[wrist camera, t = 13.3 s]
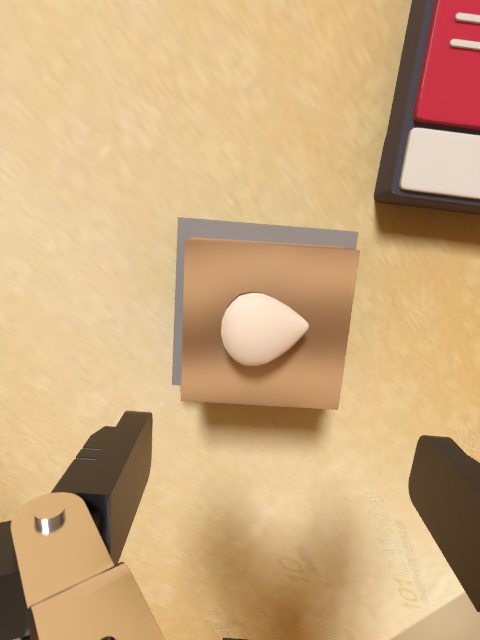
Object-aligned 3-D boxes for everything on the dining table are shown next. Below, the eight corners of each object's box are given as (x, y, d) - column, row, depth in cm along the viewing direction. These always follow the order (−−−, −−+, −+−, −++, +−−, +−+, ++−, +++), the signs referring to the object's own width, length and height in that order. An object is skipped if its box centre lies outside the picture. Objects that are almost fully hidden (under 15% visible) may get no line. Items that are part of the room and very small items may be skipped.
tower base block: (186, 217, 29) (178, 217, 25) (343, 230, 29) (358, 232, 25) (180, 365, 32) (172, 384, 28) (322, 375, 32) (333, 397, 28)
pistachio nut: (219, 290, 22) (217, 298, 20) (305, 284, 22) (312, 293, 20) (225, 358, 24) (223, 375, 21) (306, 354, 23) (313, 369, 21)
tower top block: (193, 237, 26) (184, 240, 22) (342, 246, 26) (359, 250, 22) (189, 375, 28) (181, 400, 24) (324, 383, 28) (338, 409, 24)
